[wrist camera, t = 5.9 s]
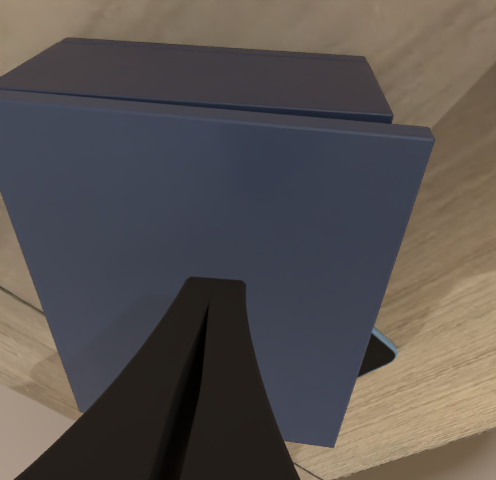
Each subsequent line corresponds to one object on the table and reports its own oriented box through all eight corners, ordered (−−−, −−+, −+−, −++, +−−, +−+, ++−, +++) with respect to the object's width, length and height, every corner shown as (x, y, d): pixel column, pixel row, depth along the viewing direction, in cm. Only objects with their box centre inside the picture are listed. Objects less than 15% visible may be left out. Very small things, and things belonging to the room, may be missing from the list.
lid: (430, 126, 11) (436, 139, 11) (333, 432, 21) (334, 448, 20) (-18, 87, 12) (-35, 96, 12) (85, 398, 22) (79, 412, 21)
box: (365, 56, 17) (394, 114, 12) (311, 328, 26) (316, 418, 22) (65, 36, 17) (-18, 86, 12) (120, 312, 27) (85, 397, 22)
